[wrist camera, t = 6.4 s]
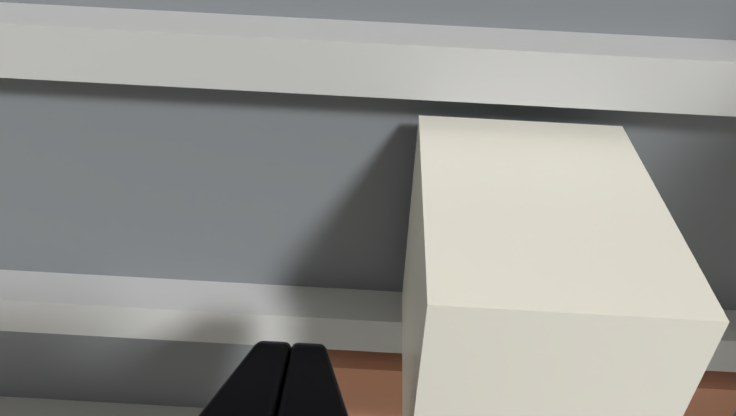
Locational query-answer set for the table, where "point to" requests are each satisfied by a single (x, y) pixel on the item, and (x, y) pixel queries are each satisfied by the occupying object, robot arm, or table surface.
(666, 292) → the cream slider
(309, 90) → the grey slider track board
